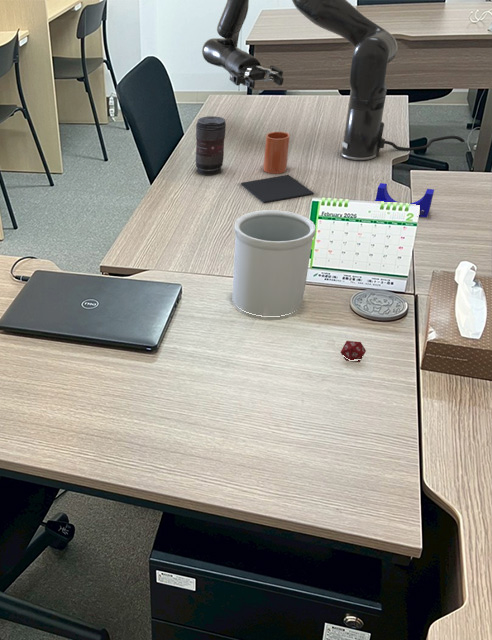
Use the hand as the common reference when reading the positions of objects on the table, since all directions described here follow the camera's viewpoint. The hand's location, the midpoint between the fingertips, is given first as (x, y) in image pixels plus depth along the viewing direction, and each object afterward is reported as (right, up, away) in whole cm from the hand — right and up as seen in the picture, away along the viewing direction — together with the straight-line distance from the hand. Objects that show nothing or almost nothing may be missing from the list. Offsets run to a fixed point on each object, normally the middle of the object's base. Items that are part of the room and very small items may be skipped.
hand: (267, 83), depth 198 cm
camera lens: (-15, -23, +8) cm, 28 cm away
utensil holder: (-17, -64, -53) cm, 85 cm away
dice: (-7, -76, -72) cm, 105 cm away
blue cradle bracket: (+25, -41, -25) cm, 54 cm away
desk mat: (0, -31, -7) cm, 32 cm away
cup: (+3, -23, +4) cm, 24 cm away
